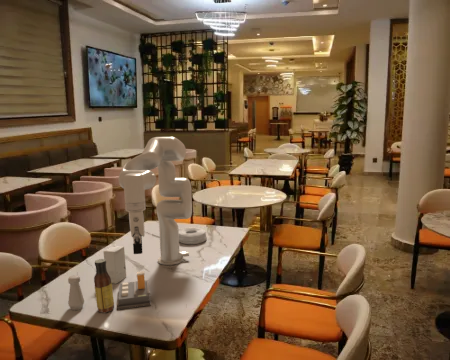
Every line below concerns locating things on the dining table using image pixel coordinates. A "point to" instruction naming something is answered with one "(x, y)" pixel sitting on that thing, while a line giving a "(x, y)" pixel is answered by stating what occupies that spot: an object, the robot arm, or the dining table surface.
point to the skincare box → (115, 263)
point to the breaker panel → (133, 293)
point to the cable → (192, 235)
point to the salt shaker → (75, 293)
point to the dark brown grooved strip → (133, 305)
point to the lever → (141, 280)
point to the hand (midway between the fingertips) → (138, 249)
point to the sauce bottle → (103, 287)
